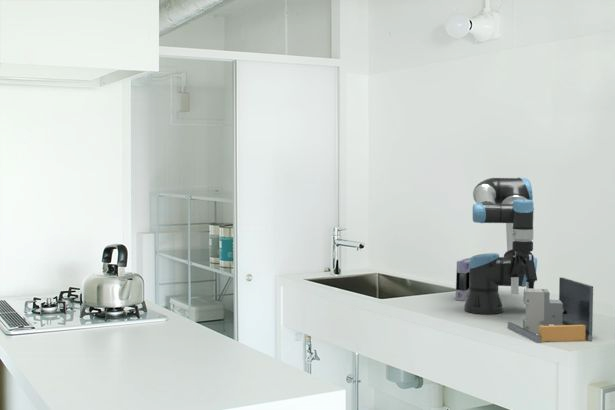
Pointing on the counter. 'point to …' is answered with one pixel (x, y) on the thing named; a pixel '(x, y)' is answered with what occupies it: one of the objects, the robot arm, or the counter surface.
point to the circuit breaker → (541, 310)
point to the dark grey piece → (569, 308)
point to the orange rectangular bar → (562, 333)
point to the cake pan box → (462, 279)
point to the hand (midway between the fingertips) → (522, 296)
